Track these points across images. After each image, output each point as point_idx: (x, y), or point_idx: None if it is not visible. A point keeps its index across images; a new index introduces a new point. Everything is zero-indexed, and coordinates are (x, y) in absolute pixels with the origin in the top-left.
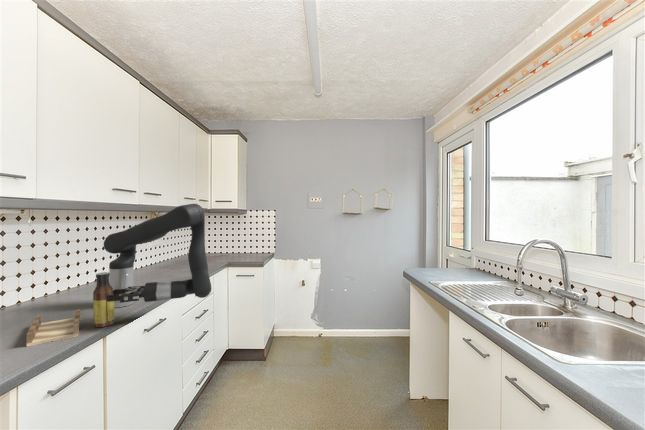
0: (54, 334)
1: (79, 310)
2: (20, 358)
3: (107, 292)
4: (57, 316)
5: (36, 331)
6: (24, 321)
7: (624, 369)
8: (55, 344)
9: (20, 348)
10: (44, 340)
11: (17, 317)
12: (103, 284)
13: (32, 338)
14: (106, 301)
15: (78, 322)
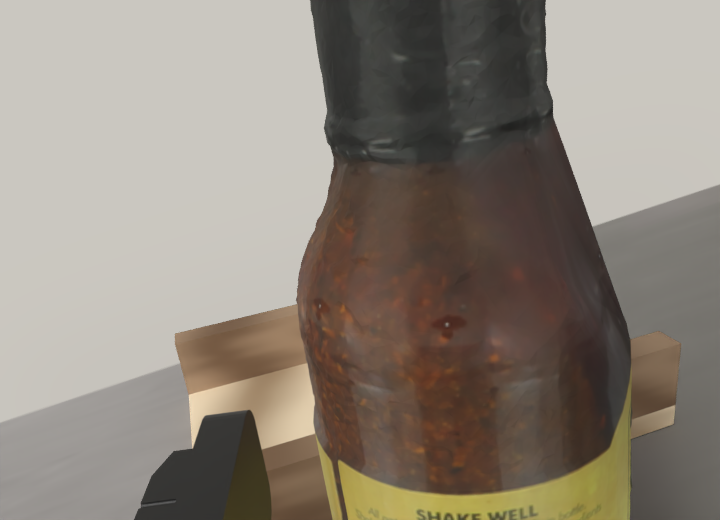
0: (276, 429)
1: (643, 352)
2: (10, 447)
3: (327, 338)
4: (708, 307)
5: None
6: (606, 255)
7: None
8: (118, 509)
9: (184, 388)
10: (193, 429)
11: (660, 223)
12: (326, 131)
13: (206, 374)
14: (346, 489)
15: (298, 471)
